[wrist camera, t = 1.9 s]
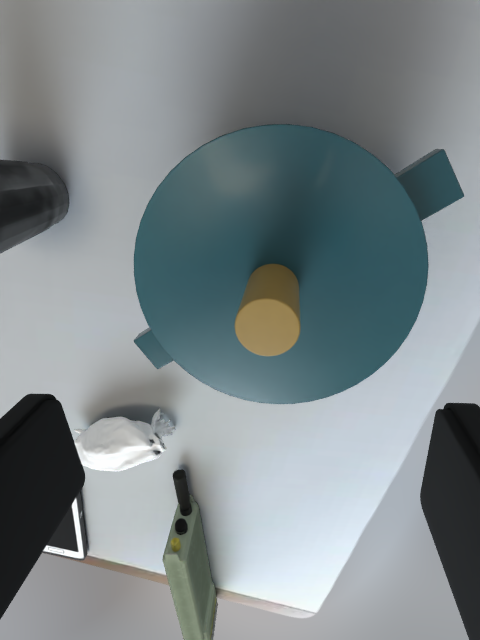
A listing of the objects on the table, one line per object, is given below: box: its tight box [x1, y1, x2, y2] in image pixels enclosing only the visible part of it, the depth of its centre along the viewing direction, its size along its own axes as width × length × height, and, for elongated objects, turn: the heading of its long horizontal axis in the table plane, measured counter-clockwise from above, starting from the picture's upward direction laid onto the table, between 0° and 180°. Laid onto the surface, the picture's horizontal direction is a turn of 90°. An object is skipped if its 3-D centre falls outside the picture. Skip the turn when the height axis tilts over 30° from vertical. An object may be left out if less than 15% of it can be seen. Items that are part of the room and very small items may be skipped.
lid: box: [134, 124, 428, 404], centre depth 17 cm, size 15×15×6 cm
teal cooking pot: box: [134, 149, 464, 369], centre depth 23 cm, size 14×19×9 cm
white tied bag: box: [74, 408, 175, 471], centre depth 35 cm, size 5×7×10 cm
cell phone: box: [42, 492, 87, 560], centre depth 44 cm, size 8×15×1 cm, turn 173°
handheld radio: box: [163, 470, 218, 640], centre depth 41 cm, size 7×3×25 cm
